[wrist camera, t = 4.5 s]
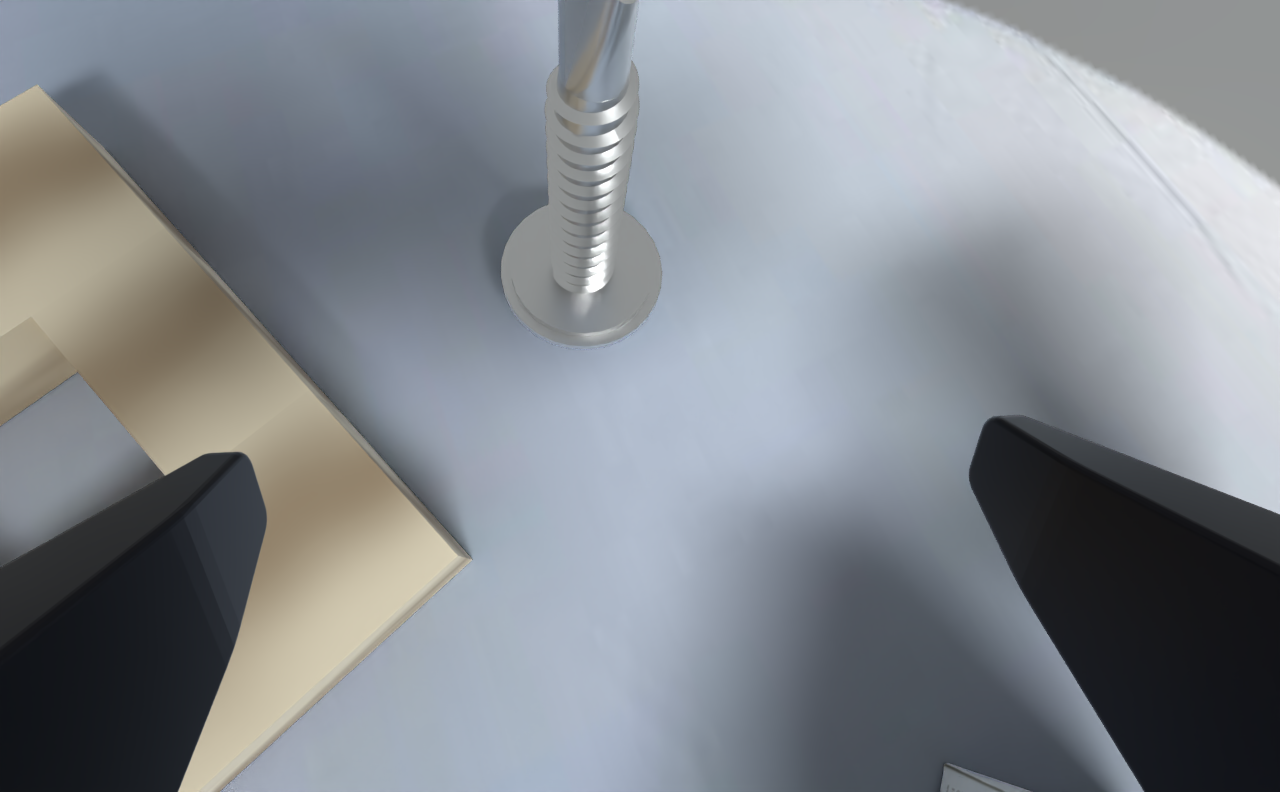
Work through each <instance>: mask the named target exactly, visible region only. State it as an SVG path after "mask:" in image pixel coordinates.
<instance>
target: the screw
mask: <svg viewBox="0 0 1280 792" xmlns="http://www.w3.org/2000/svg"><path fill="white" fill-rule="evenodd" d="M638 6H639V0H558V42H559V65H558V66H557V67H556V68H555V69H554V70H553V71H552V73H551V74H550V76H549V78H548V81H547V85H546V92H547V99H546V103H545V117H546V120H547V121H546V126H545V131H546V136H547V141H546V151H547V169H548V174H547V179H548V196H549V201H548V205H546V206H544V207H541V208H539V209H537V210H536V211H534V212H533V213H531V214H530V215H529V216H527V217H526V218H525V219H523V221H522V222H521V223H520V224H519V225H518V226H517V227H516V228H515V230H514V231H513V232H512V234H511V236H510V238H509V240H508V241H507V243H506V245H505V249H504V253H503V256H502V260H501V280H502V285H503V289H504V294H505V298H506V300H507V302H508V304H509V306H510V308H511V310H512V312H513V313H514V315H515V316H516V317H517V319H518V320H519V321H520V322H521V324H522V325H523V326H524V327H526V328H527V329H528V330H529V331H531V332H532V333H533V334H534V335H535V336H537V337H539V338H541V339H543V340H545V341H547V342H549V343H551V344H553V345H557V346H560V347H564V348H568V349H579V350H590V349H597V348H604V347H607V346H610V345H612V344H615V343H618V342H620V341H622V340H624V339H625V338H627V337H628V336H630V335H631V334H633V333H634V332H636V331H637V330H638V329H639V328H640V326H641V325H642V324H643V323H644V322H645V321H646V320H647V319H648V317H649V315H650V314H651V312H652V310H653V309H654V307H655V304H656V301H657V298H658V295H659V292H660V289H661V280H662V268H661V261H660V256H659V253H658V251H657V248H656V246H655V243H654V241H653V240H652V238H651V237H650V235H649V234H648V232H647V231H646V229H645V228H644V227H643V226H642V225H641V224H640V223H639V222H638V221H637V220H636V219H635V218H634V217H633V216H631V215H629V214H628V213H626V212H625V211H623V209H624V204H625V196H626V192H627V183H628V179H629V170H630V166H631V160H632V152H633V148H634V137H635V135H636V130H637V117H638V114H639V96H638V91H639V77H638V72H637V69H636V67H635V65H634V63H633V61H632V53H633V45H634V37H635V29H636V22H637V14H638Z"/></svg>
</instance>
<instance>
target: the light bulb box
mask: <svg viewBox="0 0 1280 792" xmlns="http://www.w3.org/2000/svg"><path fill="white" fill-rule="evenodd" d="M940 792H1032V791H1029V790H1026V789H1023V788H1020V787H1018V786H1015V785H1012V784H1009V783H1006V782H1003V781H1000V780H997V779H994V778H991V777H988V776H985V775H982V774H979V773H976V772H973V771H970V770H967V769H964V768H961V767H958V766H955V765H953V764H950V763H945V764H944V771H943V777H942V783H941V789H940Z"/></svg>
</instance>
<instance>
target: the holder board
mask: <svg viewBox="0 0 1280 792" xmlns="http://www.w3.org/2000/svg"><path fill="white" fill-rule="evenodd" d="M77 372H78V373H79V374H80V375H81V376H82V378H83V379H84V380H85V381H86V382H87V384H88V385H89V386H90V387H91V388H92V389H93V391H94V392H95V393H96V394H97V395H98V397H99V398H100V399H101V400H102V401H103V403H104V404H105V405H106V406H107V407H108V408H109V410H110V411H111V412H112V413H113V414H114V416H115V417H116V418H117V419H118V420H119V422H120V423H121V424H122V425H123V426H124V427H125V429H126V430H127V431H128V432H129V433H130V435H131V436H132V437H133V438H134V439H135V441H136V442H137V443H138V444H139V445H140V446H141V448H142V449H143V450H144V451H145V452H146V454H147V455H148V456H149V457H150V458H151V460H152V461H153V462H154V463H155V464H156V465H157V467H158V468H159V469H160V470H161V471H162V473H163V474H164V475H167V474H169V473H171V472H173V471H174V470H176V469H178V468H180V467H181V466H183V465H185V464H187V463H189V462H190V461H192V460H194V459H196V458H198V457H199V456H201V455H203V454H207V453H220V452H242V453H244V454H246V455H247V456H248V457H249V459H250V460H251V462H252V465H253V468H254V471H255V474H256V478H257V481H258V484H259V487H260V490H261V494H262V497H263V500H264V503H265V507H266V511H267V527H266V531H265V535H264V539H263V543H262V547H261V551H260V554H259V558H258V562H257V566H256V570H255V574H254V577H253V581H252V585H251V589H250V593H249V597H248V600H247V604H246V608H245V612H244V616H243V619H242V623H241V627H240V631H239V634H238V637H237V641H236V644H235V647H234V650H233V653H232V656H231V658H230V661H229V664H228V667H227V669H226V672H225V674H224V677H223V679H222V682H221V684H220V687H219V690H218V692H217V695H216V697H215V700H214V702H213V705H212V707H211V710H210V712H209V715H208V717H207V720H206V722H205V725H204V728H203V730H202V733H201V735H200V738H199V740H198V743H197V745H196V748H195V750H194V753H193V755H192V758H191V761H190V763H189V766H188V768H187V771H186V773H185V776H184V778H183V781H182V783H181V786H180V788H179V791H178V792H220V791H221V790H222V789H223V788H224V787H225V786H226V785H227V784H228V783H230V782H231V781H232V780H233V779H234V778H235V777H236V776H237V775H238V774H239V773H240V772H242V771H243V770H244V769H245V768H246V767H247V766H248V765H249V764H250V763H251V762H252V761H254V760H255V759H256V758H257V757H258V756H259V755H260V754H261V753H262V752H263V751H264V750H266V749H267V748H268V747H269V746H270V745H271V744H272V743H273V742H274V741H275V740H276V739H278V738H279V737H280V736H281V735H282V734H283V733H284V732H285V731H286V730H287V729H288V728H290V727H291V726H292V725H293V724H294V723H295V722H296V721H297V720H298V719H299V718H300V717H302V716H303V715H304V714H305V713H306V712H307V711H308V710H309V709H310V708H311V707H312V706H314V705H315V704H316V703H317V702H318V701H319V700H320V699H321V698H322V697H323V696H324V695H326V694H327V693H328V692H329V691H330V690H331V689H332V688H333V687H334V686H335V685H336V684H338V683H339V682H340V681H341V680H342V679H343V678H344V677H345V676H346V675H347V674H348V673H350V672H351V671H352V670H353V669H354V668H355V667H356V666H357V665H358V664H359V663H360V662H362V661H363V660H364V659H365V658H366V657H367V656H368V655H369V654H370V653H371V652H373V651H374V650H375V649H376V648H377V647H378V646H379V645H380V644H381V643H382V642H383V641H385V640H386V639H387V638H388V637H389V636H390V635H391V634H392V633H393V632H394V631H395V630H397V629H398V628H399V627H400V626H401V625H402V624H403V623H404V622H405V621H406V620H407V619H409V618H410V617H411V616H412V615H413V614H414V613H415V612H416V611H417V610H418V609H419V608H421V607H422V606H423V605H424V604H425V603H426V602H427V601H428V600H429V599H430V598H431V597H433V596H434V595H435V594H436V593H437V592H438V591H439V590H440V589H441V588H442V587H443V586H445V585H446V584H447V583H448V582H449V581H450V580H451V579H452V578H453V577H454V576H455V575H457V574H458V573H459V572H460V571H461V570H462V569H463V568H464V567H465V566H466V565H467V564H469V563H470V562H471V561H472V560H473V559H472V558H471V557H470V556H469V555H468V554H467V553H466V552H465V550H464V549H463V548H462V547H461V546H460V545H459V544H458V543H457V541H456V540H455V539H454V538H453V537H452V536H451V535H450V534H449V533H448V531H447V530H446V529H445V528H444V527H443V526H442V525H441V524H440V522H439V521H438V520H437V519H436V518H435V517H434V516H433V515H432V514H431V512H430V511H429V510H428V509H427V508H426V507H425V506H424V505H423V503H422V502H421V501H420V500H419V499H418V498H417V497H416V496H415V495H414V493H413V492H412V491H411V490H410V489H409V488H408V487H407V486H406V484H405V483H404V482H403V481H402V480H401V479H400V478H399V477H398V476H397V474H396V473H395V472H394V471H393V470H392V469H391V468H390V467H389V466H388V464H387V463H386V462H385V461H384V460H383V459H382V458H381V457H380V455H379V454H378V453H377V452H376V451H375V450H374V449H373V448H372V447H371V445H370V444H369V443H368V442H367V441H366V440H365V439H364V438H363V436H362V435H361V434H360V433H359V432H358V431H357V430H356V429H355V428H354V426H353V425H352V424H351V423H350V422H349V421H348V420H347V419H346V417H345V416H344V415H343V414H342V413H341V412H340V411H339V410H338V409H337V407H336V406H335V405H334V404H333V403H332V402H331V401H330V400H329V398H328V397H327V396H326V395H325V394H324V393H323V392H322V391H321V390H320V388H319V387H318V386H317V385H316V384H315V383H314V382H313V381H312V379H311V378H310V377H309V376H308V375H307V374H306V373H305V372H304V371H303V369H302V368H301V367H300V366H299V365H298V364H297V363H296V362H295V361H294V359H293V358H292V357H291V356H290V355H289V354H288V353H287V352H286V350H285V349H284V348H283V347H282V346H281V345H280V344H279V343H278V342H277V340H276V339H275V338H274V337H273V336H272V335H271V334H270V333H269V331H268V330H267V329H266V328H265V327H264V326H263V325H262V324H261V323H260V321H259V320H258V319H257V318H256V317H255V316H254V315H253V314H252V312H251V311H250V310H249V309H248V308H247V307H246V306H245V305H244V304H243V302H242V301H241V300H240V299H239V298H238V297H237V296H236V295H235V293H234V292H233V291H232V290H231V289H230V288H229V287H228V286H227V285H226V283H225V282H224V281H223V280H222V279H221V278H220V277H219V276H218V275H217V273H216V272H215V271H214V270H213V269H212V268H211V267H210V266H209V264H208V263H207V262H206V261H205V260H204V259H203V258H202V257H201V256H200V254H199V253H198V252H197V251H196V250H195V249H194V248H193V247H192V245H191V244H190V243H189V242H188V241H187V240H186V239H185V238H184V237H183V235H182V234H181V233H180V232H179V231H178V230H177V229H176V228H175V226H174V225H173V224H172V223H171V222H170V221H169V220H168V219H167V218H166V216H165V215H164V214H163V213H162V212H161V211H160V210H159V209H158V207H157V206H156V205H155V204H154V203H153V202H152V201H151V200H150V199H149V197H148V196H147V195H146V194H145V193H144V192H143V191H142V190H141V188H140V187H139V186H138V185H137V184H136V183H135V182H134V181H133V180H132V178H131V177H130V176H129V175H128V174H127V173H126V172H125V171H124V170H123V168H122V167H121V166H120V165H119V164H118V163H117V162H116V161H115V159H114V158H113V157H112V156H111V155H110V154H109V153H108V152H107V151H106V149H105V148H104V147H103V146H102V145H101V144H99V143H98V142H97V141H96V140H95V139H94V138H93V137H92V136H91V135H90V134H89V133H88V132H87V131H86V130H85V129H84V128H83V127H82V126H80V125H79V124H78V123H77V122H76V121H75V120H74V119H73V118H72V117H71V116H70V115H69V114H68V113H67V112H66V111H65V110H64V109H63V108H61V107H60V106H59V105H58V104H57V103H56V102H55V101H54V100H53V99H52V98H51V97H50V96H49V95H48V94H47V93H46V92H45V91H44V90H42V89H41V88H40V87H39V86H38V85H35V86H34V87H32V88H30V89H28V90H27V91H25V92H23V93H21V94H20V95H18V96H16V97H15V98H13V99H11V100H9V101H8V102H6V103H4V104H2V105H1V106H0V426H1V425H3V424H4V423H5V422H7V421H8V420H10V419H11V418H13V417H14V416H15V415H17V414H18V413H20V412H21V411H23V410H24V409H25V408H27V407H28V406H30V405H31V404H33V403H34V402H35V401H37V400H38V399H40V398H41V397H43V396H44V395H45V394H47V393H48V392H50V391H51V390H53V389H54V388H56V387H57V386H58V385H60V384H61V383H63V382H64V381H66V380H67V379H68V378H70V377H71V376H73V375H74V374H76V373H77Z"/></svg>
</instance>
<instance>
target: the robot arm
mask: <svg viewBox="0 0 1280 792" xmlns="http://www.w3.org/2000/svg"><path fill="white" fill-rule="evenodd" d="M969 481H970V485H971V488H972V490H973V492H974V494H975V496H976V499H977V501H978V503H979V505H980V507H981V509H982V511H983V513H984V515H985V517H986V519H987V522H988V524H989V526H990V528H991V530H992V532H993V534H994V536H995V538H996V540H997V542H998V545H999V547H1000V549H1001V551H1002V553H1003V555H1004V557H1005V559H1006V561H1007V563H1008V565H1009V567H1010V570H1011V571H1012V573H1013V575H1014V577H1015V579H1016V581H1017V583H1018V585H1019V587H1020V589H1021V590H1022V592H1023V594H1024V596H1025V597H1026V599H1027V601H1028V603H1029V604H1030V606H1031V607H1032V609H1033V611H1034V612H1035V614H1036V616H1037V617H1038V619H1039V621H1040V622H1041V624H1042V625H1043V627H1044V629H1045V630H1046V632H1047V634H1048V635H1049V637H1050V638H1051V640H1052V642H1053V643H1054V645H1055V647H1056V648H1057V650H1058V652H1059V653H1060V655H1061V656H1062V658H1063V660H1064V661H1065V663H1066V665H1067V666H1068V668H1069V670H1070V671H1071V673H1072V674H1073V676H1074V678H1075V679H1076V681H1077V683H1078V684H1079V686H1080V687H1081V689H1082V691H1083V692H1084V694H1085V696H1086V697H1087V699H1088V701H1089V702H1090V704H1091V705H1092V707H1093V709H1094V710H1095V712H1096V714H1097V715H1098V717H1099V719H1100V720H1101V722H1102V723H1103V725H1104V727H1105V728H1106V730H1107V732H1108V733H1109V735H1110V737H1111V738H1112V740H1113V741H1114V743H1115V745H1116V746H1117V748H1118V750H1119V751H1120V753H1121V754H1122V756H1123V758H1124V759H1125V761H1126V763H1127V764H1128V766H1129V768H1130V769H1131V771H1132V772H1133V774H1134V776H1135V777H1136V779H1137V781H1138V782H1139V784H1140V786H1141V787H1142V789H1143V790H1144V792H1280V514H1277V513H1275V512H1272V511H1270V510H1267V509H1264V508H1262V507H1259V506H1257V505H1254V504H1251V503H1249V502H1246V501H1244V500H1241V499H1238V498H1236V497H1233V496H1231V495H1228V494H1226V493H1223V492H1220V491H1218V490H1215V489H1213V488H1210V487H1207V486H1205V485H1202V484H1200V483H1197V482H1194V481H1192V480H1189V479H1187V478H1184V477H1181V476H1179V475H1176V474H1174V473H1171V472H1169V471H1166V470H1163V469H1161V468H1158V467H1156V466H1153V465H1150V464H1148V463H1145V462H1143V461H1140V460H1137V459H1135V458H1132V457H1130V456H1127V455H1124V454H1122V453H1119V452H1117V451H1114V450H1112V449H1109V448H1106V447H1104V446H1101V445H1099V444H1096V443H1093V442H1091V441H1088V440H1086V439H1083V438H1080V437H1078V436H1075V435H1073V434H1070V433H1067V432H1065V431H1062V430H1060V429H1057V428H1055V427H1052V426H1049V425H1047V424H1044V423H1042V422H1039V421H1036V420H1034V419H1031V418H1029V417H1026V416H1021V415H1010V416H994V417H992V418H990V419H988V420H987V421H986V423H985V424H984V426H983V428H982V431H981V434H980V437H979V440H978V443H977V447H976V450H975V453H974V456H973V459H972V462H971V465H970V469H969ZM266 527H267V511H266V507H265V503H264V500H263V497H262V494H261V490H260V487H259V484H258V481H257V478H256V474H255V471H254V468H253V465H252V462H251V460H250V459H249V457H248V456H247V455H246V454H244V453H242V452H220V453H207V454H203V455H201V456H199V457H198V458H196V459H194V460H192V461H190V462H189V463H187V464H185V465H183V466H181V467H180V468H178V469H176V470H174V471H173V472H171V473H169V474H167V475H165V476H164V477H162V478H160V479H158V480H156V481H155V482H153V483H151V484H149V485H147V486H146V487H144V488H142V489H140V490H139V491H137V492H135V493H133V494H131V495H130V496H128V497H126V498H124V499H122V500H121V501H119V502H117V503H115V504H113V505H112V506H110V507H108V508H106V509H105V510H103V511H101V512H99V513H97V514H96V515H94V516H92V517H90V518H88V519H87V520H85V521H83V522H81V523H79V524H78V525H76V526H74V527H72V528H71V529H69V530H67V531H65V532H63V533H62V534H60V535H58V536H56V537H54V538H53V539H51V540H49V541H47V542H45V543H44V544H42V545H40V546H38V547H37V548H35V549H33V550H31V551H29V552H28V553H26V554H24V555H22V556H20V557H19V558H17V559H15V560H13V561H11V562H10V563H8V564H6V565H4V566H3V567H1V568H0V792H178V791H179V788H180V786H181V783H182V781H183V778H184V776H185V773H186V771H187V768H188V766H189V763H190V761H191V758H192V755H193V753H194V750H195V748H196V745H197V743H198V740H199V738H200V735H201V733H202V730H203V728H204V725H205V722H206V720H207V717H208V715H209V712H210V710H211V707H212V705H213V702H214V700H215V697H216V695H217V692H218V690H219V687H220V684H221V682H222V679H223V677H224V674H225V672H226V669H227V667H228V664H229V661H230V658H231V656H232V653H233V650H234V647H235V644H236V641H237V637H238V634H239V631H240V627H241V623H242V619H243V616H244V612H245V608H246V604H247V600H248V597H249V593H250V589H251V585H252V581H253V577H254V574H255V570H256V566H257V562H258V558H259V554H260V551H261V547H262V543H263V539H264V535H265V531H266Z"/></svg>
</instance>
